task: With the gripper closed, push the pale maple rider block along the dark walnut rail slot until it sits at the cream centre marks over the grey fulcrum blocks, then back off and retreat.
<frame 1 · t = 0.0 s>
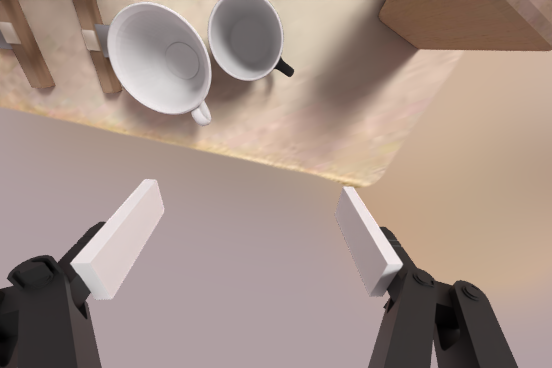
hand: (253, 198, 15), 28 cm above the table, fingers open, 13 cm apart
mug: (258, 47, 34), on the table
teacup: (191, 69, 35), on the table
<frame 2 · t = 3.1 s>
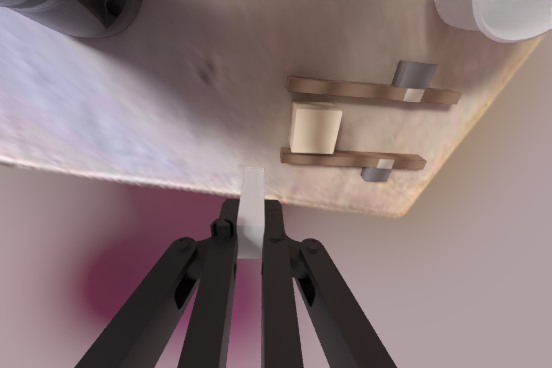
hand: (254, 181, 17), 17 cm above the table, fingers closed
beam slot: (359, 125, 33), on the table
rider: (309, 121, 33), on the table
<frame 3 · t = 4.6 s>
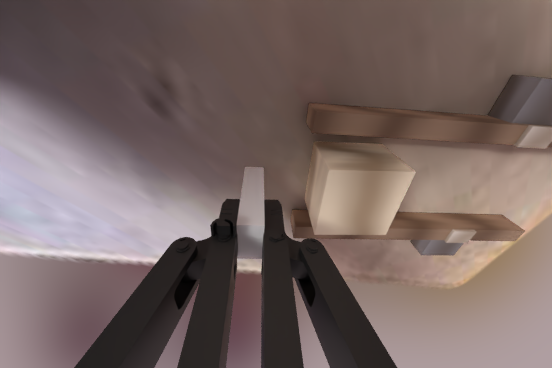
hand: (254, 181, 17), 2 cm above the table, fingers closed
beam slot: (420, 176, 20), on the table
rider: (340, 172, 20), on the table
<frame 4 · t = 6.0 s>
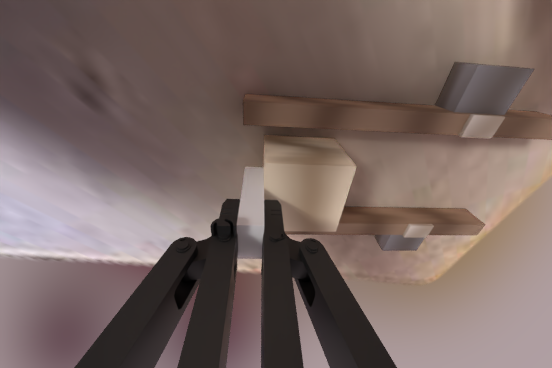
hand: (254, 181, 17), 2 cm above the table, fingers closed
beam slot: (374, 169, 20), on the table
rider: (295, 167, 19), on the table, touching gripper
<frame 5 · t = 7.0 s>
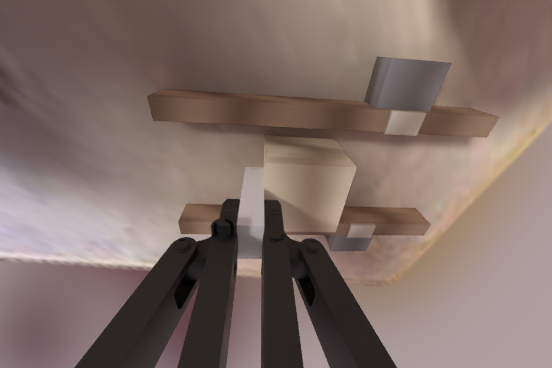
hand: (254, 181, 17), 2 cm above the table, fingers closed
beam slot: (313, 168, 19), on the table
rider: (295, 168, 19), on the table
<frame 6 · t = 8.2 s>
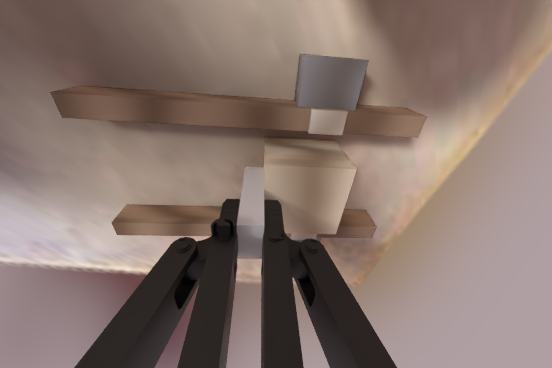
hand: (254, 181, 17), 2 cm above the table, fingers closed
beam slot: (253, 168, 19), on the table
rider: (295, 169, 19), on the table, touching gripper
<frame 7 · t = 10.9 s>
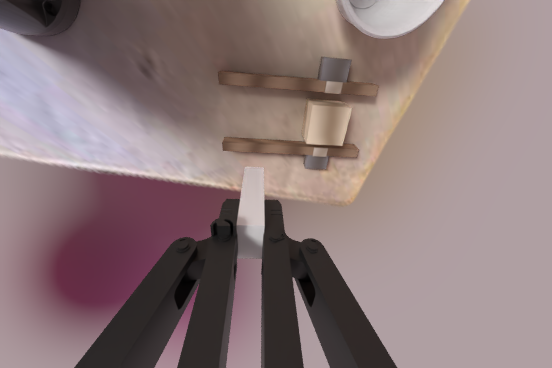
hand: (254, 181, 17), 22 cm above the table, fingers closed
beam slot: (294, 116, 36), on the table
rider: (320, 117, 37), on the table
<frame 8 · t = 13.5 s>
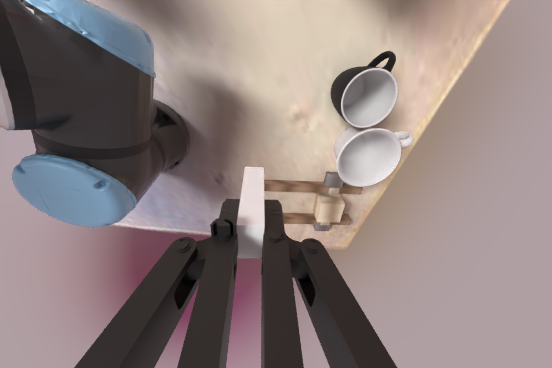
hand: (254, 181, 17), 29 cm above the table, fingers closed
mug: (352, 82, 41), on the table
teacup: (356, 137, 47), on the table
beam slot: (308, 200, 56), on the table
rider: (325, 201, 57), on the table
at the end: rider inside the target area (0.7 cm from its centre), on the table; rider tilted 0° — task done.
